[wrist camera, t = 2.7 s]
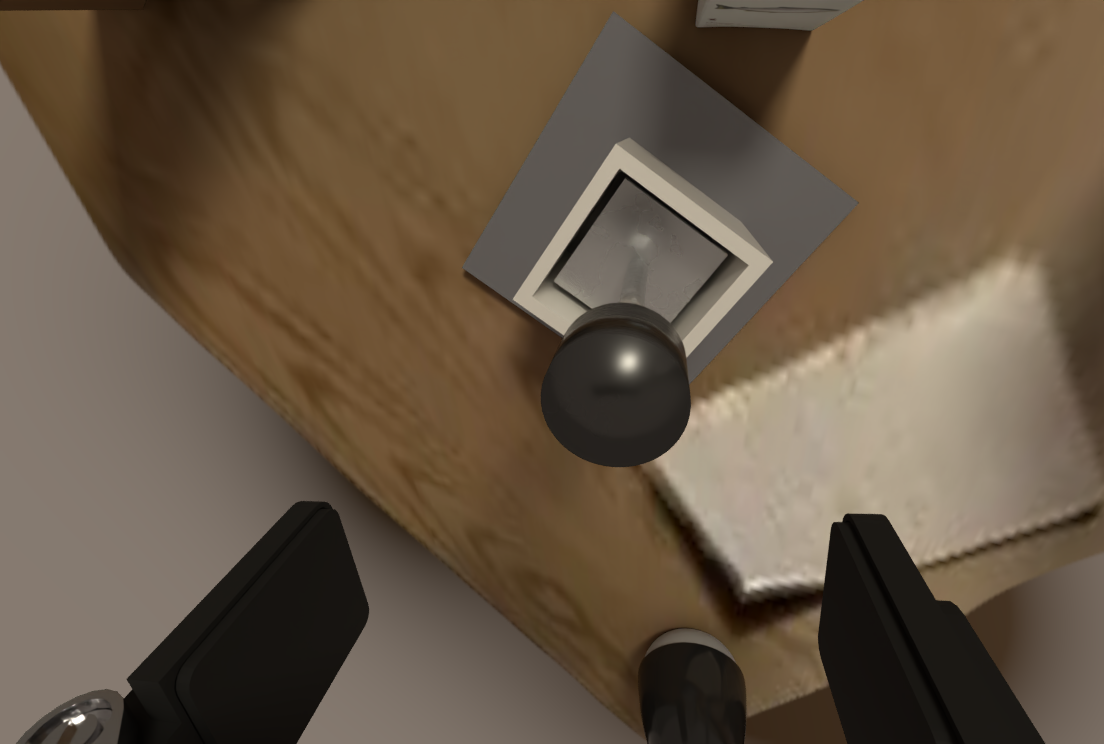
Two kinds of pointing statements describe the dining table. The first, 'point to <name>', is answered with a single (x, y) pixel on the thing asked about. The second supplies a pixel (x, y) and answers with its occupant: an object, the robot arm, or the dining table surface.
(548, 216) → the grey square base
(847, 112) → the dining table surface
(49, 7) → the photo frame
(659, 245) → the plunger
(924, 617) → the robot arm
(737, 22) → the supplement box
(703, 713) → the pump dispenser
